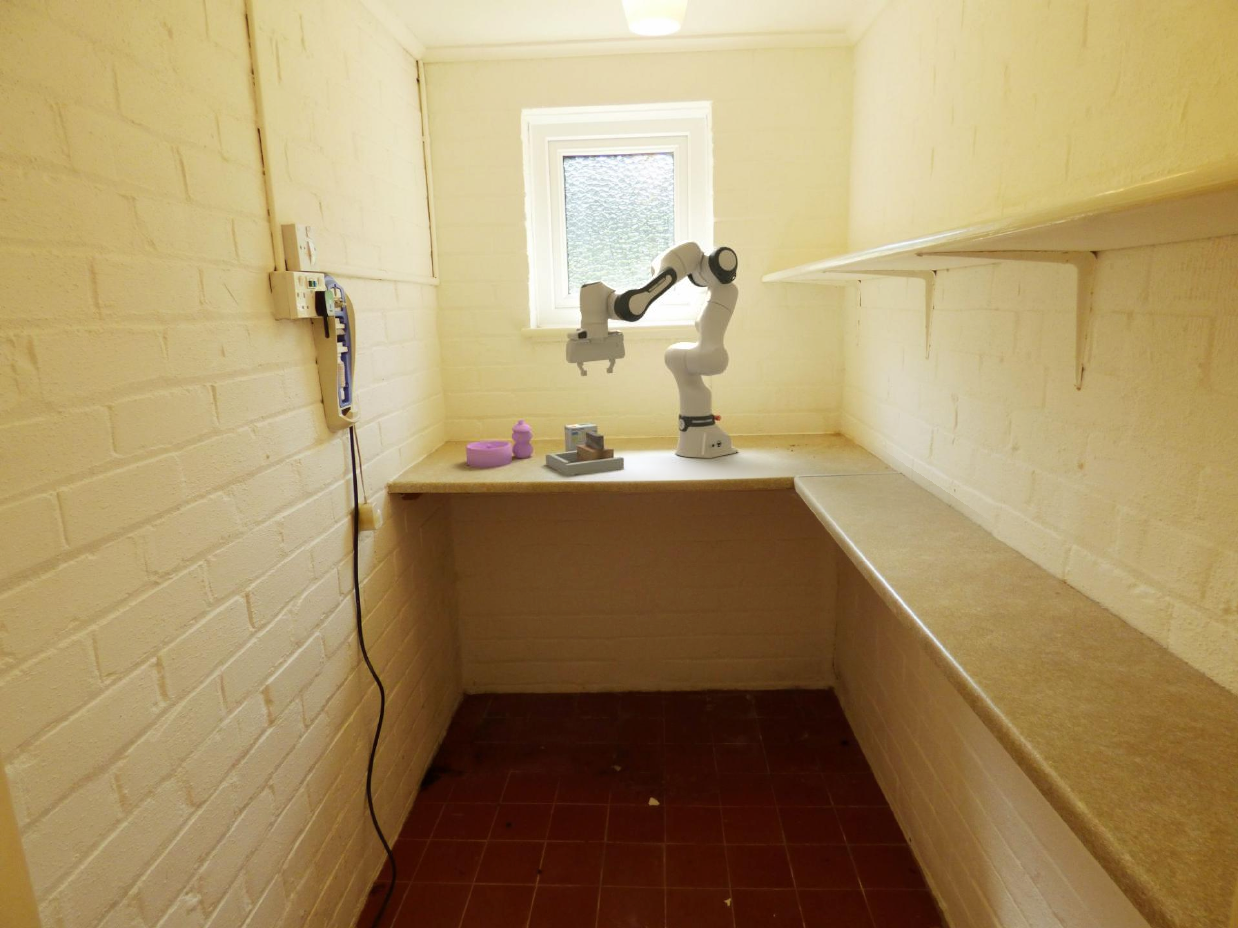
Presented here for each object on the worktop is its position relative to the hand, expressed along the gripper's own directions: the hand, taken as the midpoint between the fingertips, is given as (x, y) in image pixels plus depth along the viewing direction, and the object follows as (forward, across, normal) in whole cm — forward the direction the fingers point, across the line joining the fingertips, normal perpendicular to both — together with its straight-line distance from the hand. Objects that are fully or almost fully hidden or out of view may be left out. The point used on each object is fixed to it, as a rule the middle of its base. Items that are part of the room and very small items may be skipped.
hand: (597, 374), depth 238 cm
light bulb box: (+30, 0, -16) cm, 35 cm away
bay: (+30, +7, +2) cm, 31 cm away
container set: (+30, +28, -22) cm, 47 cm away
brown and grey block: (+30, +3, +2) cm, 30 cm away
